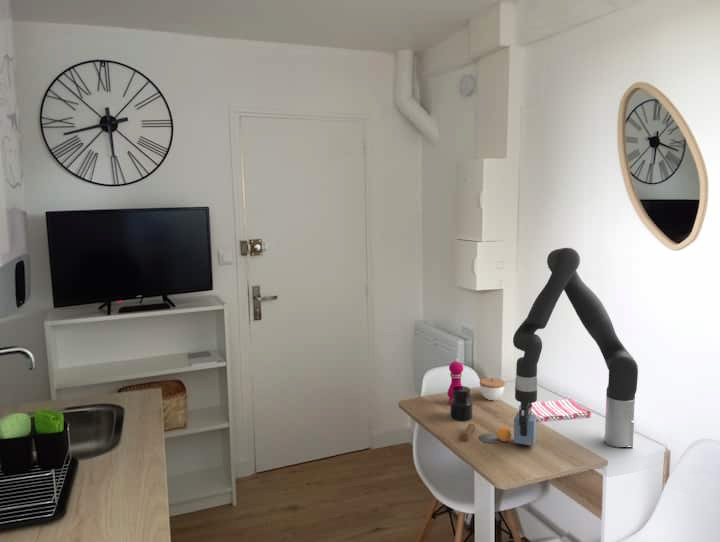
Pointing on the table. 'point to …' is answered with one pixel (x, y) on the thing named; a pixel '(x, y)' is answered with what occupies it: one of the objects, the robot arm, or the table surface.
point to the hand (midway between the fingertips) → (525, 431)
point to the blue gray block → (530, 430)
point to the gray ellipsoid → (489, 438)
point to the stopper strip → (468, 432)
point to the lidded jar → (492, 388)
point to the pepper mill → (455, 377)
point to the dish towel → (558, 410)
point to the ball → (503, 434)
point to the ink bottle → (461, 404)
